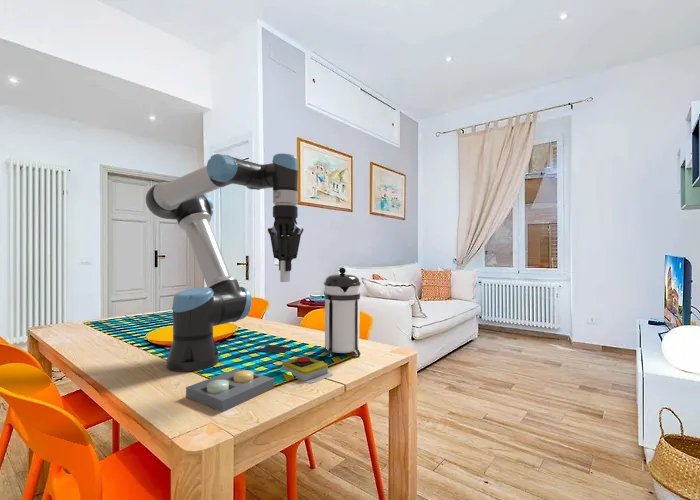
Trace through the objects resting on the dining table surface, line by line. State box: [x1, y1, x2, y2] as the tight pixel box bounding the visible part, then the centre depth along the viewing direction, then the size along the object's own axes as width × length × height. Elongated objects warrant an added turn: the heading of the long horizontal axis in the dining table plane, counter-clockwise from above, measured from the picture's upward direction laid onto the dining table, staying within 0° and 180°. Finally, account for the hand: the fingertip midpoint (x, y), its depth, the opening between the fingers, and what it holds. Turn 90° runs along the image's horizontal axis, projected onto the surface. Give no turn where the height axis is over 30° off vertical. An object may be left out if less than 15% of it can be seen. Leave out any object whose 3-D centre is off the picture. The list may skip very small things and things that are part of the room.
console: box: [185, 368, 275, 412], centre depth 91 cm, size 14×16×2 cm
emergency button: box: [281, 356, 334, 384], centre depth 105 cm, size 9×4×15 cm
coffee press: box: [323, 266, 361, 358], centre depth 126 cm, size 17×16×30 cm
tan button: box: [234, 369, 254, 384], centre depth 94 cm, size 5×5×3 cm
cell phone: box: [255, 344, 296, 354], centre depth 127 cm, size 7×14×1 cm, turn 69°
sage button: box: [207, 380, 229, 395], centre depth 88 cm, size 5×5×3 cm
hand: (285, 281), depth 110 cm, fingers closed
